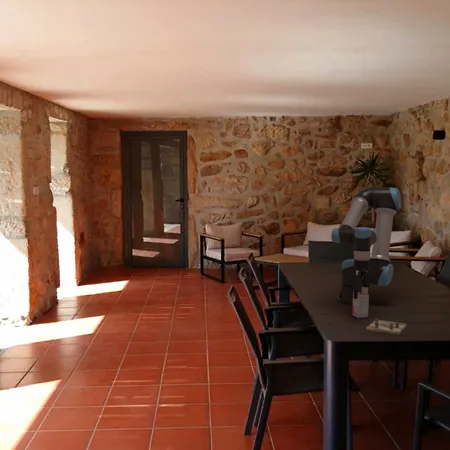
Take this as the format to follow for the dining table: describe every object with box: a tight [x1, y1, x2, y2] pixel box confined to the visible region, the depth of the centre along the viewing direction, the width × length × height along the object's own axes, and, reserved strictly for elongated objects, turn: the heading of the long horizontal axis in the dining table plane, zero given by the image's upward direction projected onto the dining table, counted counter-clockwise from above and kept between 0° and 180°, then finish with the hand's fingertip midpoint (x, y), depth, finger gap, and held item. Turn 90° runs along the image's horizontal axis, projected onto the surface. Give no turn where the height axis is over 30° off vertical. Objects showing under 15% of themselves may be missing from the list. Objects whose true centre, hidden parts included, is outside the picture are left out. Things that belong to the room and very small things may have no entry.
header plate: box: [365, 318, 408, 336], centre depth 243 cm, size 16×14×4 cm
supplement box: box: [351, 293, 370, 320], centre depth 261 cm, size 6×6×12 cm
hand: (360, 302), depth 261 cm, fingers open, 13 cm apart
